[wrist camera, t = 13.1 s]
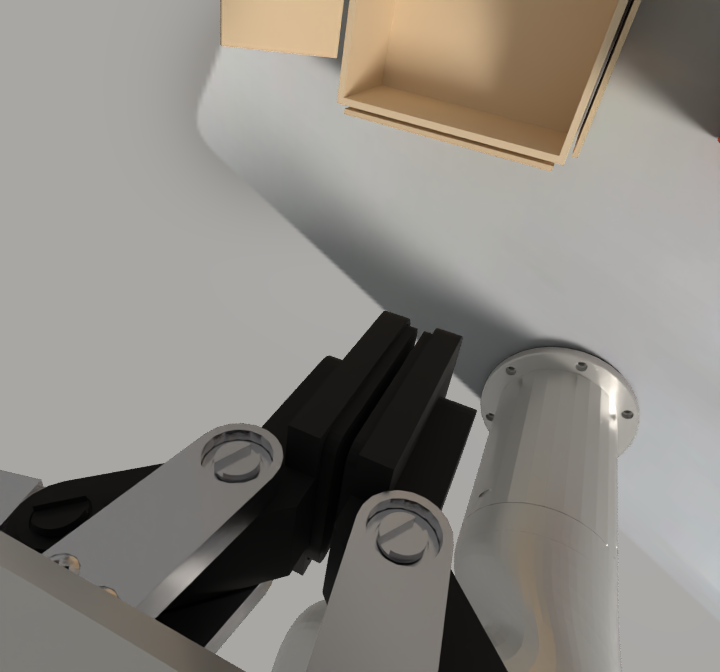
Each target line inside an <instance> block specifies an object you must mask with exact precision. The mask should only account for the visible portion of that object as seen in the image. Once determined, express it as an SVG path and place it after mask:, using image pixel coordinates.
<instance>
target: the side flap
mask: <svg viewBox="0 0 720 672" xmlns="http://www.w3.org/2000/svg"><path fill="white" fill-rule="evenodd" d="M220 2H221V3H220V11H221V13H220V15H221V16H220V17H221V18H220V26H221V27H220V45H221V46H227V47H237V48H246V49H255V50H265V51H274V52H283V53H292V54H302V55H311V56H320V57H330V58H337V53H338V45H339V37H340V28H341V20H342V12H343V3H344V0H220Z"/></svg>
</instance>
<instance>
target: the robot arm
mask: <svg viewBox="0 0 720 672" xmlns="http://www.w3.org/2000/svg"><path fill="white" fill-rule="evenodd" d="M416 337H417V329H416V328H414V327H411V326H410V319H409V318H406V317H403V316H400V315H397V314H394V313H391V312H388V311H384V312H383V313H382V314H381V315H380V316H379V317H378V319H377V320H376V321H375V322H374V323H373V325H372V326H371V327H370V328H369V329H368V330H367V332H366V333H365V334H364V335H363V337H362V338H361V339H360V340H359V341H358V342H357V344H356V345H355V346H354V347H353V348H352V349H351V351H350V352H349V353H348V354H347V355H346V357H345V358H344V359H343V360H341V359H338V358H335V357H332V356H327V357H325V358H324V359H323V360H322V361H321V362H320V363H319V364H318V365H317V366H316V368H315V369H314V370H313V371H312V372H311V373H310V374H309V375H308V376H307V378H306V379H305V380H304V381H303V382H302V383H301V384H300V385H299V386H298V388H297V389H296V390H295V391H294V392H293V393H292V394H291V395H290V396H289V398H288V399H287V400H286V401H285V402H284V403H283V404H282V405H281V406H280V408H279V409H278V410H277V411H276V412H275V413H274V414H273V415H272V416H271V417H270V419H269V420H268V421H267V422H266V423H265V424H264V425H263V426H262V428H261V427H259V426H256V425H250V424H244V423H240V424H228V425H224V426H220V427H217V428H215V429H213V430H211V431H209V432H207V433H206V434H204V435H203V436H201V437H200V438H199V439H197V440H196V441H194V442H193V443H192V444H190V445H189V446H188V447H186V448H185V449H184V450H182V451H181V452H180V453H178V454H177V455H175V456H174V457H173V458H171V459H170V460H169V461H167V462H166V463H163V464H158V465H152V466H147V467H141V468H135V469H130V470H125V471H119V472H113V473H108V474H102V475H97V476H91V477H85V478H81V479H74V480H69V481H64V482H61V483H57V484H54V485H50V486H48V487H43V484H42V481H41V479H36V478H32V477H28V476H23V475H19V474H15V473H11V472H6V471H2V470H0V672H245V671H243V670H242V669H240V668H238V667H236V666H235V665H233V664H231V663H230V662H228V661H226V660H224V659H223V658H221V657H219V656H217V655H216V654H215V653H216V652H217V651H218V650H219V649H220V647H221V646H222V645H223V644H224V643H225V642H226V640H227V639H228V638H229V637H230V636H231V634H232V633H233V632H234V631H235V629H236V628H237V627H238V626H239V625H240V624H241V623H242V621H243V620H244V619H245V618H246V617H247V615H248V614H249V613H250V612H251V611H252V609H253V608H254V607H255V606H256V605H257V604H258V602H259V601H260V600H261V599H262V598H263V596H264V595H265V594H266V592H267V591H268V589H269V587H270V586H271V584H272V581H273V580H274V579H278V578H281V577H285V576H288V575H290V573H291V572H292V570H293V571H295V572H297V573H299V574H301V575H303V574H304V572H305V571H306V569H307V567H308V565H309V564H310V562H311V560H315V561H316V562H318V563H321V561H322V560H323V559H324V557H325V556H326V554H327V552H328V550H329V549H330V552H329V557H328V564H327V569H326V575H325V581H324V587H323V595H324V598H325V600H322V601H319V602H317V603H315V604H313V605H311V606H310V607H308V608H307V609H306V610H305V611H304V612H303V613H302V614H301V615H299V617H298V618H297V619H296V621H295V622H294V623H293V625H292V626H291V628H290V629H289V631H288V632H287V634H286V636H285V639H284V640H283V642H282V645H281V647H280V649H279V652H278V654H277V657H276V660H275V663H274V666H273V669H272V672H622V666H621V654H620V640H619V616H618V457H619V456H621V455H622V454H623V453H624V452H625V451H626V450H627V449H628V448H629V447H630V446H631V444H632V442H633V440H634V438H635V436H636V435H637V430H638V425H639V409H638V404H637V399H636V397H635V395H634V392H633V390H632V388H631V386H630V385H629V384H628V382H627V381H626V380H625V379H624V377H623V376H622V375H621V374H620V373H619V372H617V371H616V370H615V369H614V368H613V367H612V366H610V365H609V364H607V363H605V362H604V361H602V360H600V359H599V358H597V357H595V356H592V355H590V354H587V353H584V352H582V351H577V350H573V349H569V348H559V347H543V348H534V349H530V350H526V351H522V352H519V353H517V354H515V355H513V356H510V357H508V358H507V359H506V360H504V361H503V362H501V363H500V364H499V365H498V366H497V367H496V368H495V369H494V370H493V371H492V372H491V374H490V375H489V377H488V379H487V381H486V383H485V386H484V389H483V391H482V396H481V413H482V417H483V420H484V423H485V425H486V427H487V429H488V430H489V436H488V439H487V442H486V446H485V449H484V453H483V456H482V459H481V463H480V466H479V469H478V473H477V476H476V479H475V483H474V486H473V490H472V493H471V496H470V500H469V503H468V506H467V510H466V513H465V517H464V520H463V523H462V527H461V530H460V534H459V537H458V540H457V544H456V548H455V554H454V571H455V576H454V574H453V572H452V570H451V563H452V554H453V546H454V544H453V531H452V529H451V526H450V524H449V522H448V519H447V518H446V517H445V515H444V514H443V513H442V508H443V505H444V502H445V500H446V497H447V494H448V491H449V488H450V486H451V483H452V480H453V478H454V475H455V472H456V469H457V466H458V464H459V461H460V458H461V455H462V453H463V450H464V447H465V444H466V441H467V438H468V435H469V432H470V430H471V427H472V424H473V421H474V418H475V415H476V412H477V410H475V409H473V408H470V407H467V406H464V405H462V404H459V403H456V402H454V401H451V400H448V399H446V398H445V397H446V394H447V390H448V387H449V383H450V380H451V377H452V373H453V370H454V367H455V363H456V360H457V357H458V353H459V350H460V346H461V343H462V339H463V337H462V336H459V335H456V334H453V333H450V332H447V331H444V330H441V329H438V328H436V330H435V331H434V333H433V334H431V333H428V332H424V333H423V334H422V336H421V337H420V339H419V340H418V342H417V343H416V345H415V341H416ZM414 345H415V346H414ZM580 362H584V363H580Z"/></svg>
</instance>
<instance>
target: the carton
mask: <svg viewBox="0 0 720 672" xmlns="http://www.w3.org/2000/svg"><path fill="white" fill-rule="evenodd" d="M627 3H628V0H350V1H349V9H348V17H347V25H346V33H345V41H344V49H343V57H342V65H341V73H340V81H339V89H338V97H337V103H339V104H342V105H346V106H350V107H348V108H345V111H344V114H346V115H350V116H354V117H357V118H361V119H364V120H368V121H372V122H375V123H379V124H382V125H386V126H389V127H393V128H397V129H400V130H404V131H407V132H411V133H415V134H418V135H422V136H425V137H429V138H433V139H436V140H440V141H443V142H447V143H450V144H454V145H458V146H461V147H465V148H468V149H472V150H476V151H479V152H483V153H486V154H490V155H493V156H497V157H501V158H504V159H508V160H511V161H515V162H519V163H522V164H526V165H529V166H533V167H537V168H540V169H544V170H547V171H552V168H553V166H554V163H557V164H561V165H564V163H565V160H566V158H567V155H568V153H569V150H570V148H571V145H572V143H573V140H574V137H575V135H576V132H577V130H578V127H579V125H580V122H581V120H582V117H583V115H584V112H585V110H586V107H587V104H588V102H589V99H590V97H591V94H592V92H593V89H594V87H595V84H596V82H597V79H598V77H599V74H600V71H601V69H602V66H603V64H604V61H605V59H606V56H607V54H608V51H609V49H610V46H611V44H612V41H613V38H614V36H615V33H616V31H617V28H618V26H619V23H620V21H621V18H622V16H623V13H624V11H625V8H626V5H627ZM640 3H641V0H632V1H631V3H630V6H629V8H628V11H627V13H626V16H625V18H624V21H623V23H622V26H621V28H620V31H619V33H618V36H617V39H616V41H615V44H614V46H613V49H612V51H611V54H610V56H609V59H608V61H607V64H606V66H605V69H604V71H603V74H602V76H601V79H600V81H599V84H598V86H597V89H596V91H595V94H594V96H593V99H592V101H591V104H590V107H589V109H588V112H587V114H586V117H585V119H584V122H583V124H582V127H581V129H580V132H579V134H578V138H577V141H576V144H575V148H574V151H573V155H572V157H575V158H578V155H579V153H580V150H581V148H582V146H583V143H584V141H585V138H586V136H587V133H588V131H589V128H590V126H591V123H592V121H593V118H594V116H595V114H596V111H597V109H598V106H599V104H600V101H601V99H602V96H603V94H604V91H605V89H606V86H607V84H608V82H609V79H610V77H611V74H612V72H613V69H614V67H615V64H616V62H617V59H618V57H619V55H620V52H621V50H622V47H623V45H624V42H625V40H626V37H627V35H628V32H629V30H630V27H631V25H632V23H633V20H634V18H635V15H636V13H637V10H638V8H639V5H640Z"/></svg>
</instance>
